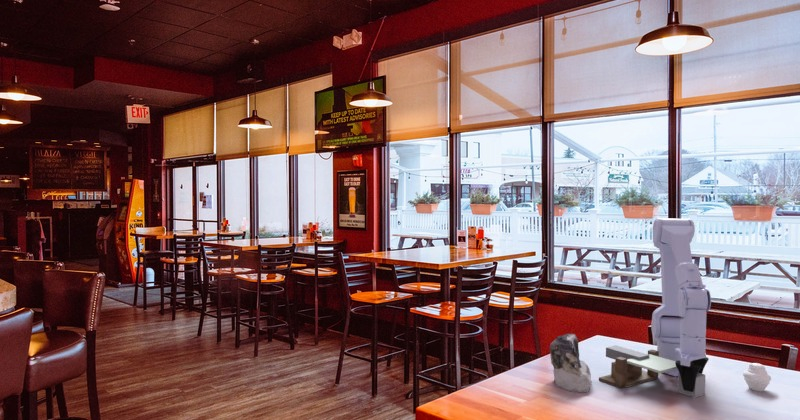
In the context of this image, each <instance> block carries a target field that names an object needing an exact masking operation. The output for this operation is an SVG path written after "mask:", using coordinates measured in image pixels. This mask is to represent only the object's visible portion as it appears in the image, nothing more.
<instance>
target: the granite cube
mask: <svg viewBox="0 0 800 420" xmlns="http://www.w3.org/2000/svg"><path fill="white" fill-rule="evenodd" d="M677 393H680V394H683V395H686V396H688V397H692V398H694V399H695V398H698V397H700V396H704V395H706V374H703V373H702V374H701V373H698V374H697V377H696V382H695V387H694V390H693V392H690V391H685V390H684V389H683V386H682V381H681V376H680V373H678V376H677Z"/></svg>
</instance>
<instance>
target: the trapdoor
mask: <svg viewBox="0 0 800 420" xmlns="http://www.w3.org/2000/svg"><path fill="white" fill-rule="evenodd" d="M617 357H623V358H626V359H627V363H628V364H631V365H634V366H637V367H641V368H642V369H644V370H647V369H648V370H651V371H654V372H657V373H658V374H664V373H663V372H667V371H671V370H674V369H677V367H676V364H675V362H676V361H672V360H669V359H665V358H662V357H658V356H655V355H651V354H649V355H648V353H644V352H640V351H637V350H634V349H631V348H626V347H623V346H619V345H611V346H608V347H605V358H608V359H613V360H615V358H617Z"/></svg>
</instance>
